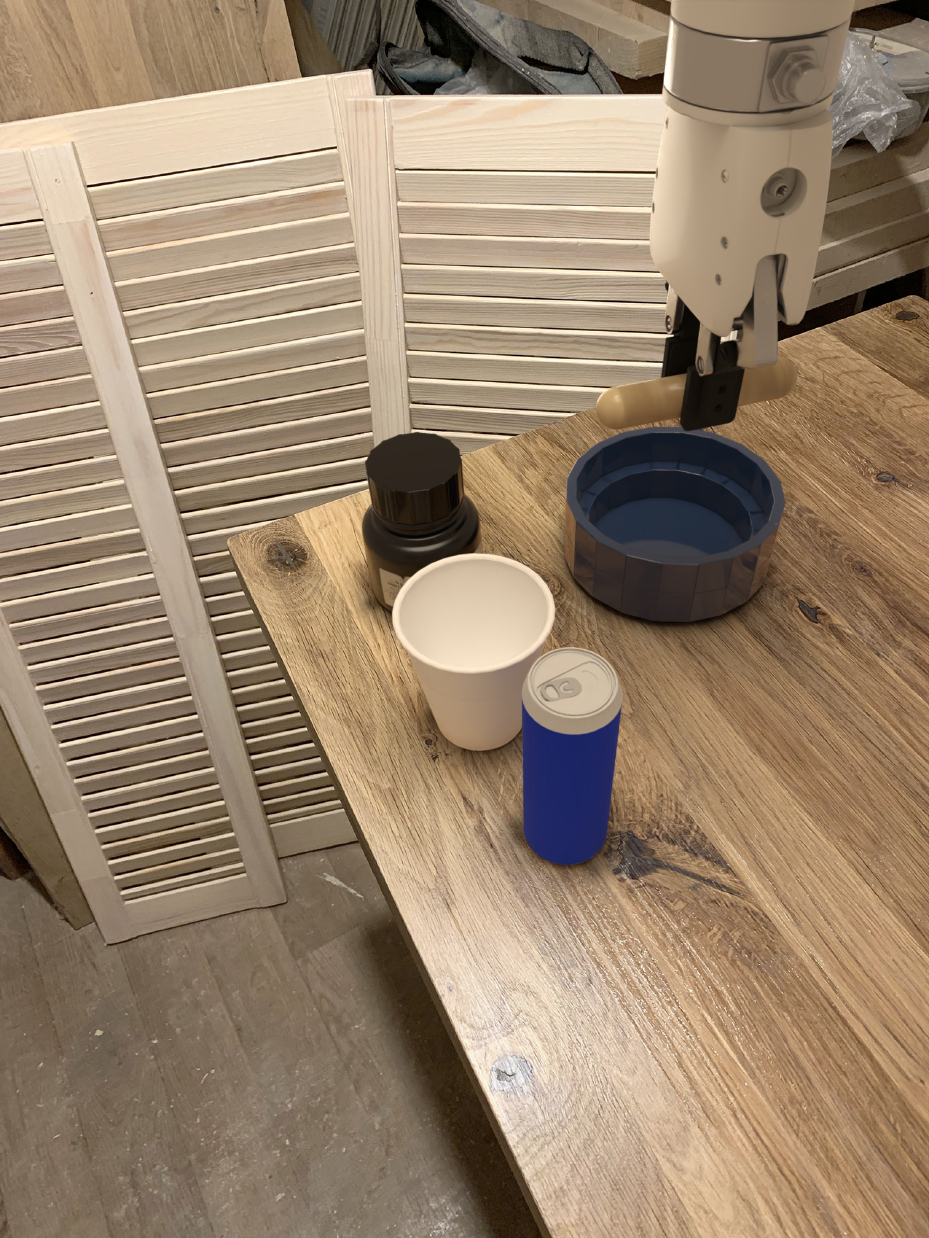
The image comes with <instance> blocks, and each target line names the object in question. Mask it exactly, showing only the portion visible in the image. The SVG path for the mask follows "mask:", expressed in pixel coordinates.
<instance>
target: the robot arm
mask: <svg viewBox="0 0 929 1238" xmlns="http://www.w3.org/2000/svg"><path fill="white" fill-rule="evenodd" d="M855 2H856V0H671V3H670V13H669V23H668V32H667V41H666V52H665V64H664V74H663V83H662V92H661V95H662V96H661V98H662V101H663V102H664V103H665V105H667V106H666V111H665V116H664V121H663V125H662V126H663V127H662V132H661V137H660V138H661V139H660V143H659V149H658V156H657V162H656V169H655V175H654V183H653V192H652V200H651V209H650V219H649V220H650V223H649V252H650V253H649V254H650V256H651V259H652V261H653V264H654V266H655V267H656V269H657V271H658V272H659V273H660V275H662V277H663V278H664V279H665V283H664V288H665V291H666V292H667V296H666V305H665V312H664V321H663V322H664V329H665V332H666V334H668V335H671V336H666V337H665V340H664V341H665V342H664V347H663V357H662V367H661V373H660V378H664V377H670V376H675V375H680V374H686V373H687V376H686V383H685V390H684V396H683V403H682V410H681V417H680V418H679V425H680V427H682V428H683V429H684V430H685V431H692V430H703V429H707V428H713V427H717V426H723V425H728V424H731V423H733V421H735V419H736V416H737V411H738V407H739V406H738V402H739V397H740V392H741V387H742V382H743V377H744V372H745V368H747V369H755V368H761V367H766V366H771V365H775V364H776V363H777V360H778V357H779V333H778V332H779V331H778V330H779V329H778V327H779V326H778V325H779V324H778V320H780V321H781V322H783V323H784V324H785V325H787V326H788V325H789V326H795V325H799V324H800V322H801V321H802V320H803V319H804V316H805V315H806V311H807V307H808V304H809V300H810V296H811V293H812V292H811V291H812V286H813V281H814V277H815V273H816V268H817V267H816V266H817V262H818V258H819V251H820V246H821V239H822V234H823V228H824V223H825V216H826V208H827V204H828V203H827V202H828V195H829V186H830V179H831V168H832V157H833V156H832V155H833V136H834V135H833V134H834V132H833V131H834V129H833V128H834V115H832V113H831V112H830V111H829V110H828V109H829V108H830V106H831V105H832V103H833V100H834V95H835V91H836V86H837V84H838V83H837V82H838V78H839V73H840V69H841V65H842V59H843V55H844V51H845V47H846V42H847V37H848V34H849V28H850V25H851V20H852V14H853V11H854V7H855V4H856V3H855ZM735 331H736V337H735V339H730V340H725V341H723V342H721V341H722V338H728V337H729V336H730V334H731V332H735Z"/></svg>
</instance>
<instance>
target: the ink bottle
mask: <svg viewBox="0 0 929 1238" xmlns="http://www.w3.org/2000/svg"><path fill="white" fill-rule="evenodd" d="M364 466H365V473H366V480H367V487H368V491H369V499H370V505H369V506H368V507H367V509H366V510H365V513H364V514H363V518H362V522H361V536H362V541H363V546H364V552H365V558H366V563H367V568H368V574H369V579H370V583H371V584H370V585H371V588H372V592H373V594H374V596H375V598H376V600H377V601H378V602H379V603H380V604H381V605H382V606H383V607H384V608H385V609H387V611H388V612H391V613H392V611H393V607H394V602H395V599H396V597H397V595H398V593H399V591H400V589H401V588H402V587H403V586H404V584H405V583H406V582H407V581H408V580H409V579H410V578H411V577H412V576H413V575H415V574H416V573H417V572H418V571H419V570H421V569H423V568H425V567H426V566H428V565H430V564H432V563H434V562H437V561H439V560H442V559H444V558H448V557H452V556H457V555H463V554H473V553H475V554H484V551H483V550H484V548H483V532H482V527H481V518H480V513H479V511H478V508H477V507H476V505H475V503H474V502H473V501H472V499H471V498H470V497H469V496H468V495H467V494H465V484H464V483H465V482H464V469H463V468H464V467H463V458H462V456H461V450H460V448H459V447H458V446H456V445H455V444H454V442H452V440H451V439H449V438H446V437H444V436H441V435H439V434H437V433H434V432H432V433H431V432H420V431H414V432H408V433H407V432H406V433H398V434H396V435H393V436H392V437H390V438H387V439H384V440H382V441H380V443H379V444H377V445H376V446H374V447H373V448H372V449H371V450H370V451H369V454H368V455H367V458H366V459H365V461H364Z"/></svg>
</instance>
